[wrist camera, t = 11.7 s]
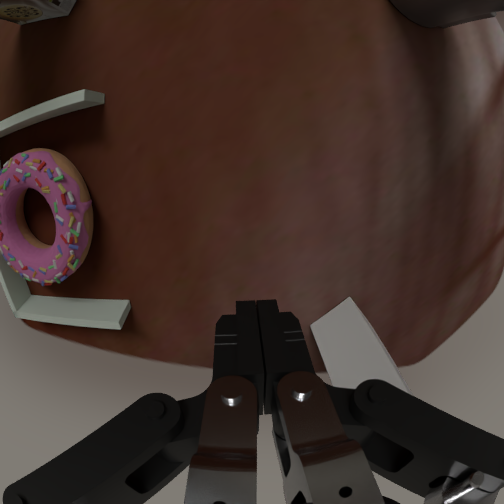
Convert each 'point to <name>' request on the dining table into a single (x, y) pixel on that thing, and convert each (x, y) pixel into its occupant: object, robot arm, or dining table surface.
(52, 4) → the coffee box
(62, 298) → the box
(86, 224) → the donut
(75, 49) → the dining table surface
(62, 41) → the dining table surface
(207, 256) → the dining table surface
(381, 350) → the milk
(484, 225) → the dining table surface
